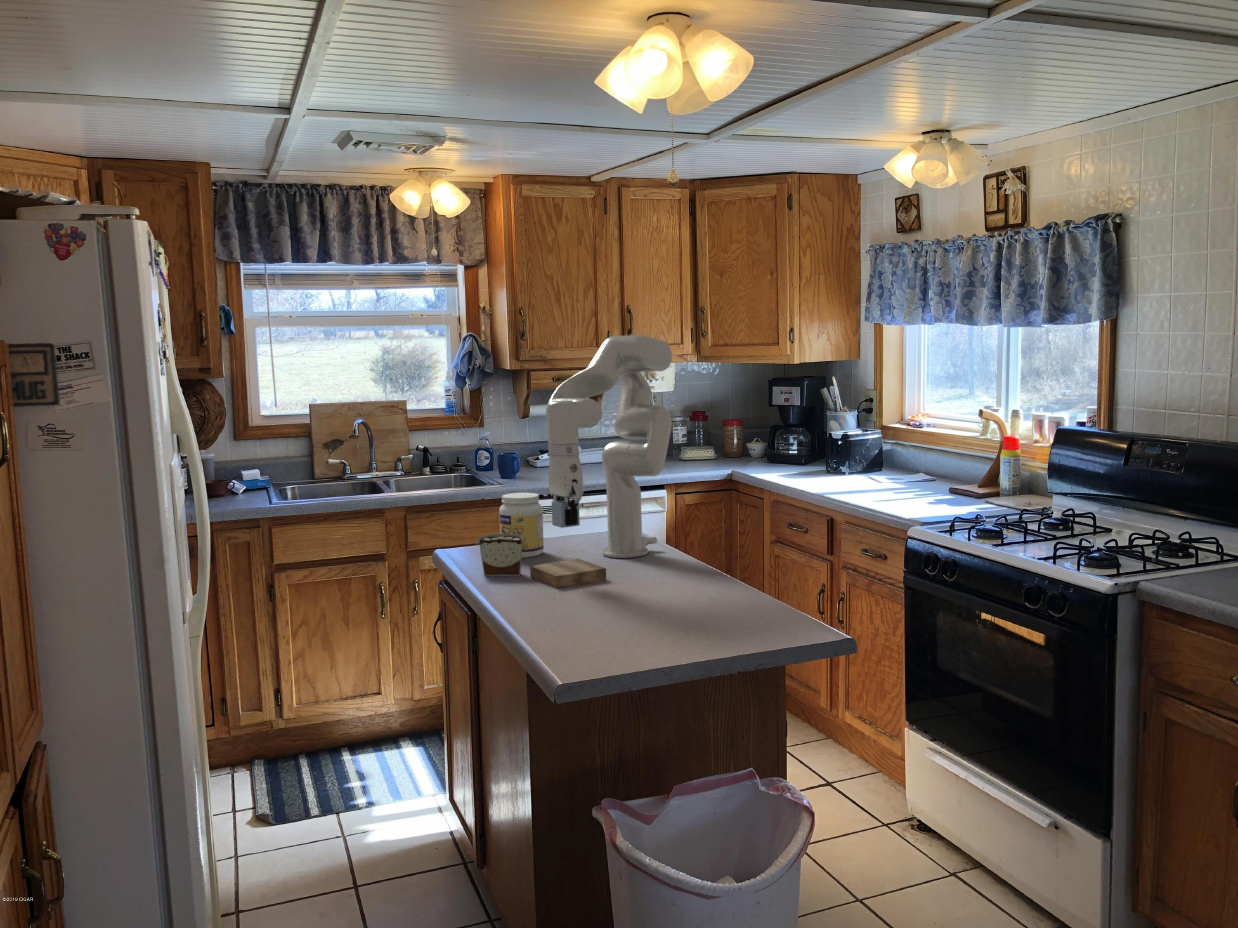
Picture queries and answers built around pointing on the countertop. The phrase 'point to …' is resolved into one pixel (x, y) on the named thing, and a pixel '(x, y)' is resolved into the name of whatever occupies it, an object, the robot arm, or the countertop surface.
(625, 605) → the countertop surface
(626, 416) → the robot arm
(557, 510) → the slate block
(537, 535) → the supplement tub
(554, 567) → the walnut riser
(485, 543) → the food container
